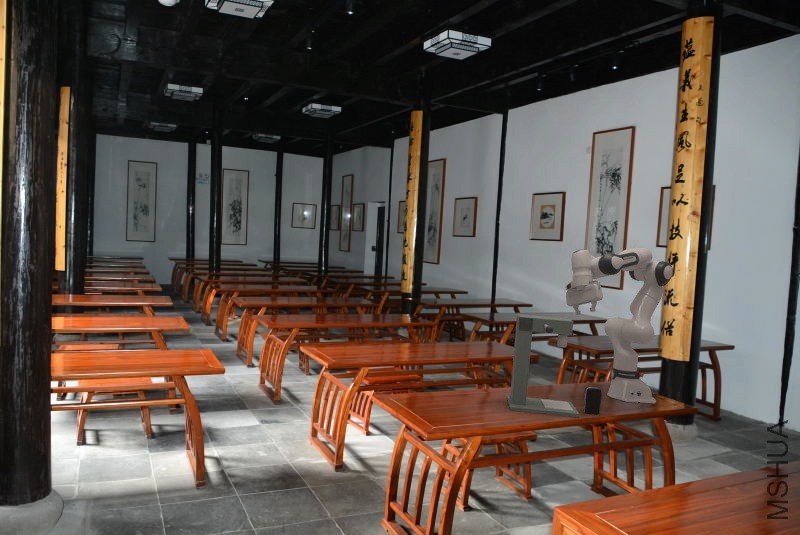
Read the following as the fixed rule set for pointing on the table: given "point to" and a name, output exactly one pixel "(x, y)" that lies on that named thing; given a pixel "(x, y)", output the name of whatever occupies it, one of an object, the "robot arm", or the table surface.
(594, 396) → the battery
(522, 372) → the press
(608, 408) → the table surface
